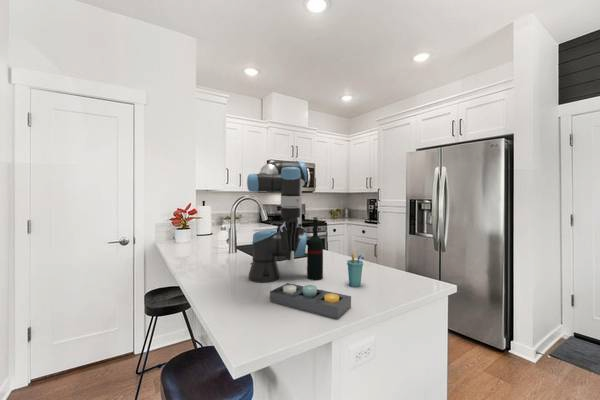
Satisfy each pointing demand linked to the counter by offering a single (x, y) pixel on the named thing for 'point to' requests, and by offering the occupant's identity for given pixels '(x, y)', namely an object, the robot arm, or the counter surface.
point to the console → (311, 302)
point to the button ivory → (289, 288)
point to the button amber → (331, 298)
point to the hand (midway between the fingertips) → (290, 267)
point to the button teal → (310, 291)
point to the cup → (355, 271)
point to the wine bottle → (315, 254)
